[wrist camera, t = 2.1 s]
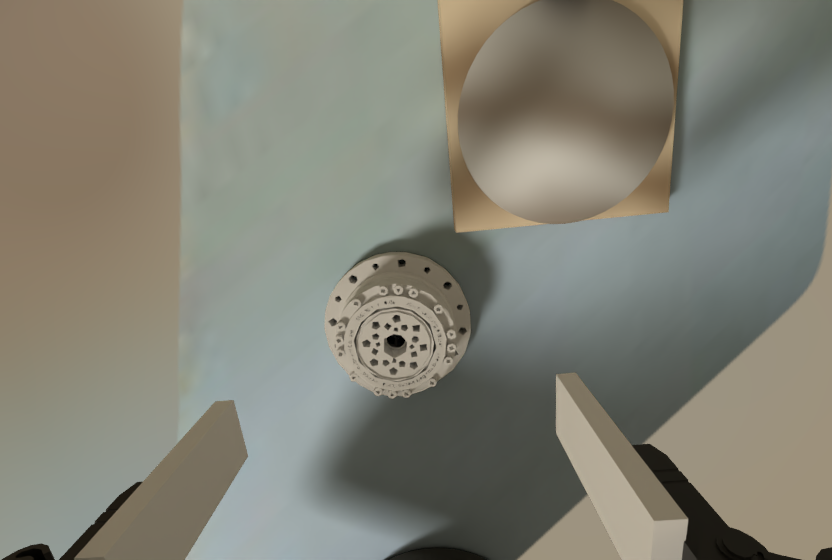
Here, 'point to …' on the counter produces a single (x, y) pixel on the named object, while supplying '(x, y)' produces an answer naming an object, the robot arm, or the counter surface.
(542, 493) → the counter surface
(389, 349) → the mechanical component
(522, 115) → the flange board
